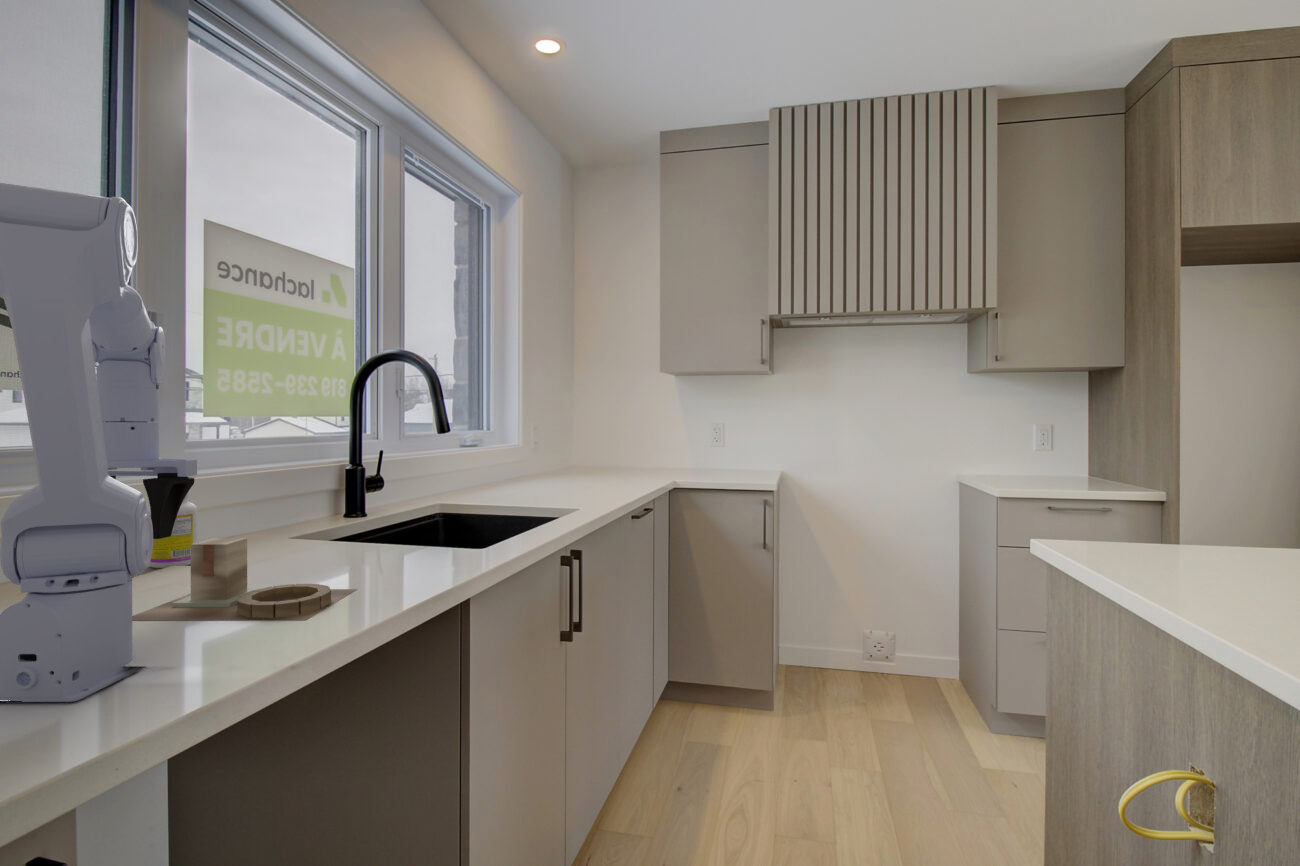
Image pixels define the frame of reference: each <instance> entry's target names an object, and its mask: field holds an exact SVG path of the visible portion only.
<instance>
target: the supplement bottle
mask: <svg viewBox="0 0 1300 866" xmlns="http://www.w3.org/2000/svg"><path fill="white" fill-rule="evenodd" d="M190 495H191V489H190V490H189V492H188V493H187V495H186V497H185V498H184V500H183V502H182V504H181V506H180V509H179V511H178V514H177V517H176V520H175V523H174V526H173V530H172V534H171V536H170V537H166V538H161V539H153V549H152V556H151V561H150V564H149V567H151V568H152V569H165V568H166V569H167V568H169V567H174V566H175V567H179V566H180V567H186V566H189V565H190V566H191V544H194V543H198V507H197V505H196V504H194V502H190V501H189V497H190ZM147 511H148V514H149V515H150V517H151V509H150V508H148V509H147Z"/></svg>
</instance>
